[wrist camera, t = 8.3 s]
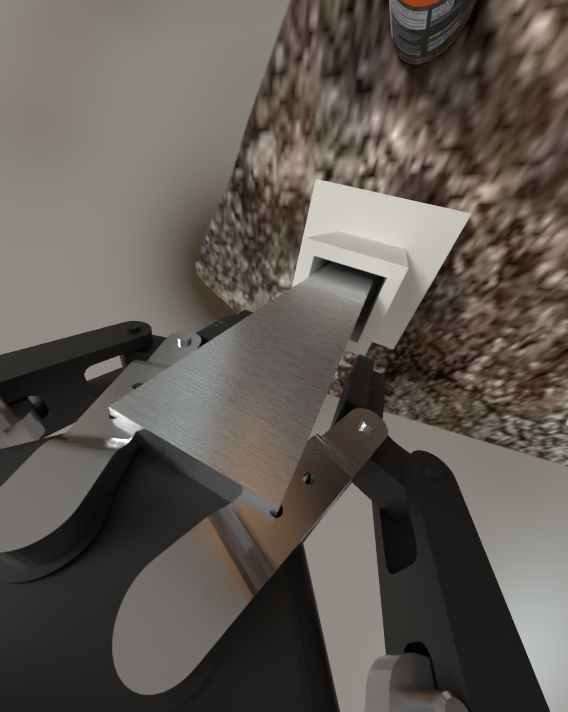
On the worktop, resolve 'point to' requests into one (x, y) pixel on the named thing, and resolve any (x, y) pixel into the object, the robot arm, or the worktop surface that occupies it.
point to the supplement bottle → (426, 26)
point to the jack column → (251, 390)
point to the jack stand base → (378, 252)
